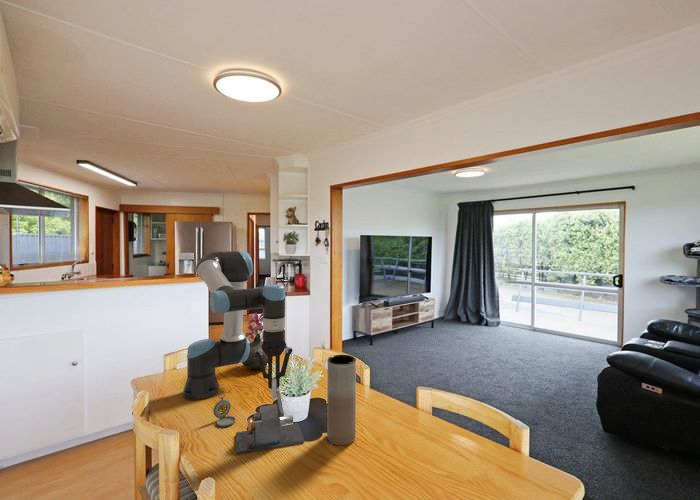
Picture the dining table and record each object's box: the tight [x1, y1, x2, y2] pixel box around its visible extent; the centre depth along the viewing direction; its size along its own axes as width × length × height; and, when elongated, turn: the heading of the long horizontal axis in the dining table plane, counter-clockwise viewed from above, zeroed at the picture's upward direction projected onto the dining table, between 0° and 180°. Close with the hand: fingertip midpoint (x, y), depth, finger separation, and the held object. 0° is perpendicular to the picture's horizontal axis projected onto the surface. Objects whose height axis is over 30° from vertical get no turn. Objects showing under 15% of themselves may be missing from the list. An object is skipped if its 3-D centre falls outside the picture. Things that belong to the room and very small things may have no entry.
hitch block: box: [235, 403, 305, 456], centre depth 118 cm, size 12×22×10 cm, turn 109°
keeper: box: [276, 387, 285, 417], centre depth 119 cm, size 8×1×9 cm, turn 19°
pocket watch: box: [212, 393, 236, 428], centre depth 129 cm, size 8×8×10 cm
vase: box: [241, 312, 268, 371], centre depth 186 cm, size 17×18×30 cm
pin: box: [247, 414, 294, 435], centre depth 118 cm, size 5×15×5 cm, turn 109°
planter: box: [326, 354, 357, 446], centre depth 119 cm, size 10×10×28 cm
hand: (273, 396), depth 118 cm, fingers closed
